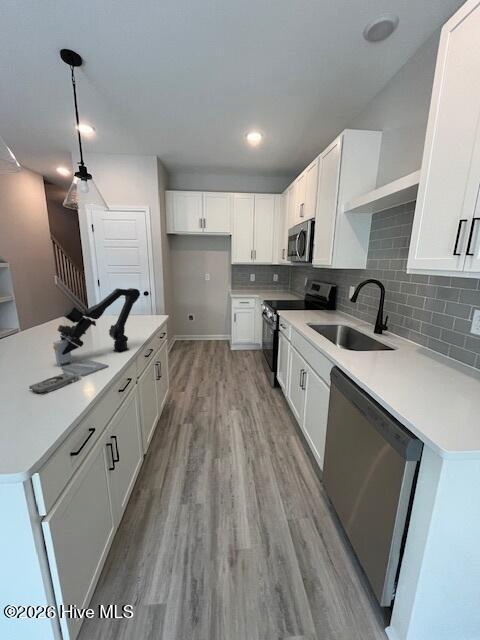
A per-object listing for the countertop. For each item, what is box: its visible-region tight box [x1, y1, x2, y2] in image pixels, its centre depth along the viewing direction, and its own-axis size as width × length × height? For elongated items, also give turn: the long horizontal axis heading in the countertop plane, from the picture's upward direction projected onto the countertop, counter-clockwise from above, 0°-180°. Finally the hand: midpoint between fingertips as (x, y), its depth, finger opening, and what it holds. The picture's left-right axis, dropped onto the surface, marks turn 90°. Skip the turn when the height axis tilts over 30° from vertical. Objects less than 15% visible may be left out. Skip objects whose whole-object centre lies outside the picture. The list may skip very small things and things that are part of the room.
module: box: [52, 339, 73, 368], centre depth 134 cm, size 6×5×12 cm
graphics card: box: [28, 370, 82, 393], centre depth 113 cm, size 17×4×12 cm
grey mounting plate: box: [60, 358, 109, 378], centre depth 131 cm, size 13×18×2 cm
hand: (59, 352), depth 134 cm, fingers open, 9 cm apart
